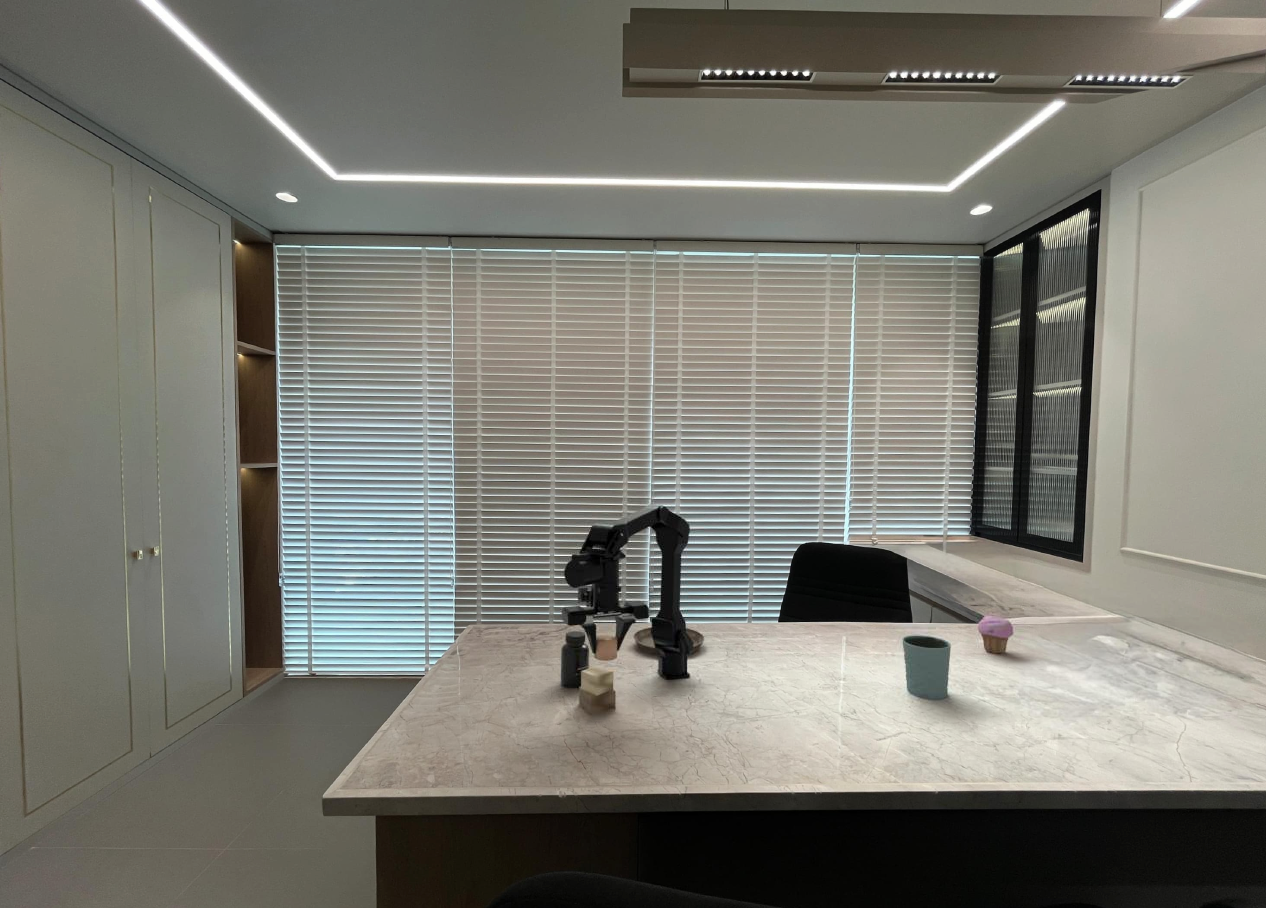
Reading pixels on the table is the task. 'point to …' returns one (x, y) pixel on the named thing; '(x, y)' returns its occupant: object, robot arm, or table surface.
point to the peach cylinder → (606, 648)
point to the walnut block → (597, 701)
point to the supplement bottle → (574, 659)
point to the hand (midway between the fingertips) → (605, 651)
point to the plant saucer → (647, 644)
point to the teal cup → (927, 666)
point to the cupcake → (995, 633)
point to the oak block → (597, 680)
